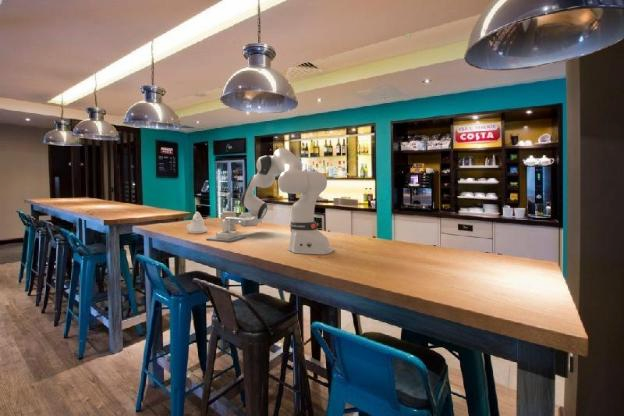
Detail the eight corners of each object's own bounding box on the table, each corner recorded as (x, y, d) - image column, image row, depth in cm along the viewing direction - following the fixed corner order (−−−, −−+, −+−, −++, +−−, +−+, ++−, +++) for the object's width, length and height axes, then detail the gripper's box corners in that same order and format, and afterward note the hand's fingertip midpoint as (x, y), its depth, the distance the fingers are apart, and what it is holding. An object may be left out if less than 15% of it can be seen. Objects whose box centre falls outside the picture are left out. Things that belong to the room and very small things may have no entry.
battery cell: (232, 236, 205) (231, 218, 204) (227, 238, 201) (227, 219, 200) (225, 236, 207) (225, 218, 206) (221, 237, 203) (220, 218, 202)
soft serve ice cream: (210, 232, 236) (214, 212, 233) (198, 238, 222) (202, 217, 219) (194, 227, 238) (197, 207, 235) (181, 232, 224) (184, 211, 221)
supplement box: (236, 230, 235) (236, 211, 234) (234, 232, 231) (234, 212, 229) (224, 230, 236) (224, 211, 235) (221, 231, 231) (221, 211, 230)
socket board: (246, 237, 209) (246, 231, 208) (229, 242, 194) (229, 235, 193) (223, 235, 215) (223, 229, 214) (206, 240, 200) (206, 233, 200)
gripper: (231, 213, 226) (218, 216, 213) (259, 215, 218) (247, 218, 206) (231, 223, 227) (218, 226, 214) (259, 225, 219) (247, 228, 206)
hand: (232, 222), depth 210 cm, fingers open, 8 cm apart
